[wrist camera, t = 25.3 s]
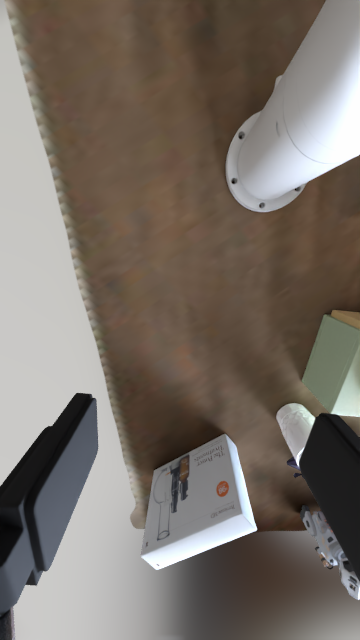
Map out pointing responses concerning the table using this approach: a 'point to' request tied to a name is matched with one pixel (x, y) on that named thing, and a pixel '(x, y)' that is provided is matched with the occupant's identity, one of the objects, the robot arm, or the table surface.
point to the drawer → (347, 317)
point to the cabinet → (335, 367)
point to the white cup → (295, 427)
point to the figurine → (330, 549)
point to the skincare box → (196, 504)
